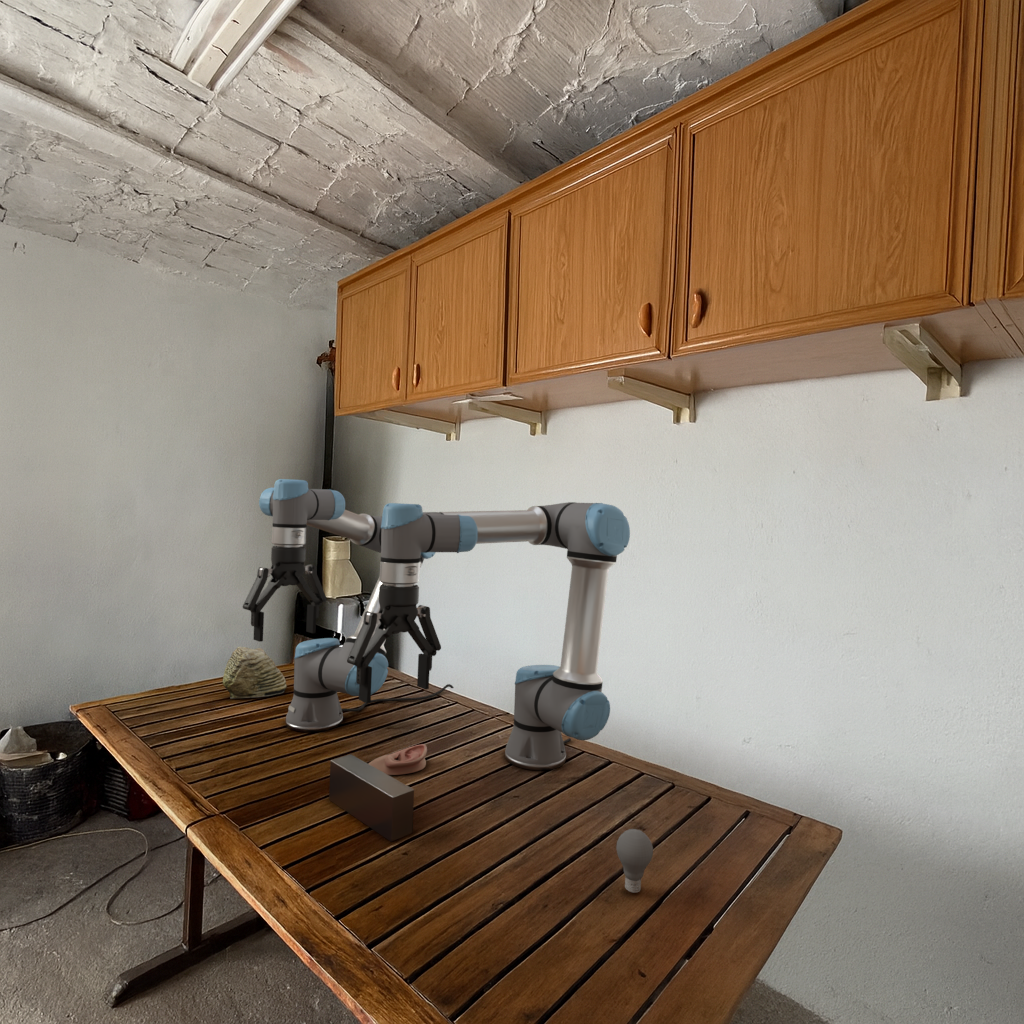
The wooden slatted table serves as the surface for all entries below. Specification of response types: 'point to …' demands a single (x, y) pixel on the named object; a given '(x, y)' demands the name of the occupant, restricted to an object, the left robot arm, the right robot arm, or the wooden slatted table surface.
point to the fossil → (252, 674)
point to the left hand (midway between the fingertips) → (285, 636)
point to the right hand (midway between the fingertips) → (394, 694)
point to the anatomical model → (402, 761)
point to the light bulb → (634, 857)
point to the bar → (372, 797)
